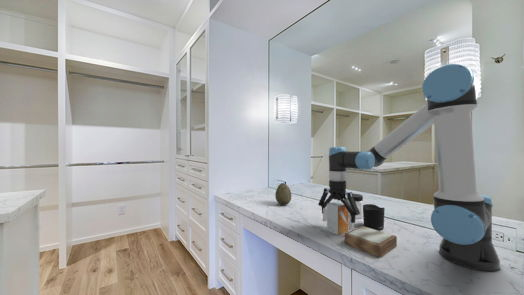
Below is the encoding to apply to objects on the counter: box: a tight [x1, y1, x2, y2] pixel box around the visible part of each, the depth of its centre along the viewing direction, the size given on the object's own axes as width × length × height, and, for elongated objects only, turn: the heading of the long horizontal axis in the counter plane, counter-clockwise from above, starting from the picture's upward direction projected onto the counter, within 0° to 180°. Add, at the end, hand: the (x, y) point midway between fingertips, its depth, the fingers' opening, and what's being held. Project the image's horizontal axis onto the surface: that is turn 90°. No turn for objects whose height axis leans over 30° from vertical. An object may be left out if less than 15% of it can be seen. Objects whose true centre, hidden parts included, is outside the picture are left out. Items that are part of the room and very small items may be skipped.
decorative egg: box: [274, 182, 292, 206], centre depth 143 cm, size 11×11×15 cm
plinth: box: [344, 225, 398, 258], centre depth 85 cm, size 14×14×4 cm
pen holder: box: [362, 203, 385, 231], centre depth 103 cm, size 9×9×10 cm
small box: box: [326, 200, 349, 236], centre depth 99 cm, size 8×6×13 cm
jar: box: [346, 193, 364, 220], centre depth 119 cm, size 9×8×12 cm
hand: (337, 225), depth 99 cm, fingers open, 13 cm apart
